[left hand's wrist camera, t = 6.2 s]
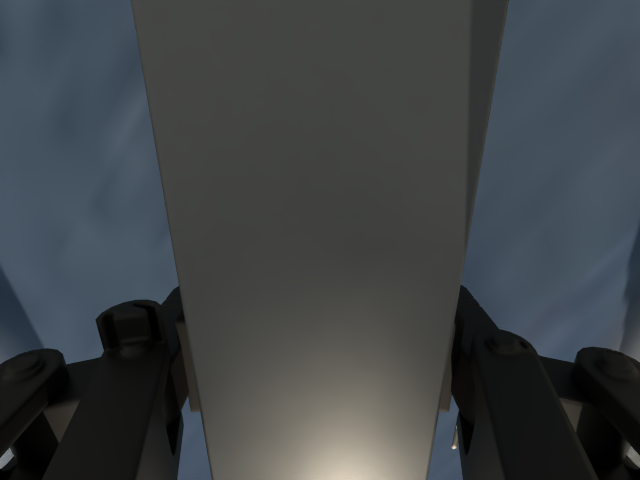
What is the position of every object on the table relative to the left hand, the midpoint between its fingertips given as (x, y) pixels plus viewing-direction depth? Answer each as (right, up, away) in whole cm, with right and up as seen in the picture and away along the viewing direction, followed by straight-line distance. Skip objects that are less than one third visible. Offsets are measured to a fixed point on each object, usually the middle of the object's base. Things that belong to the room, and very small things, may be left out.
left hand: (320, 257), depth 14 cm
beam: (0, +26, -10) cm, 28 cm away
